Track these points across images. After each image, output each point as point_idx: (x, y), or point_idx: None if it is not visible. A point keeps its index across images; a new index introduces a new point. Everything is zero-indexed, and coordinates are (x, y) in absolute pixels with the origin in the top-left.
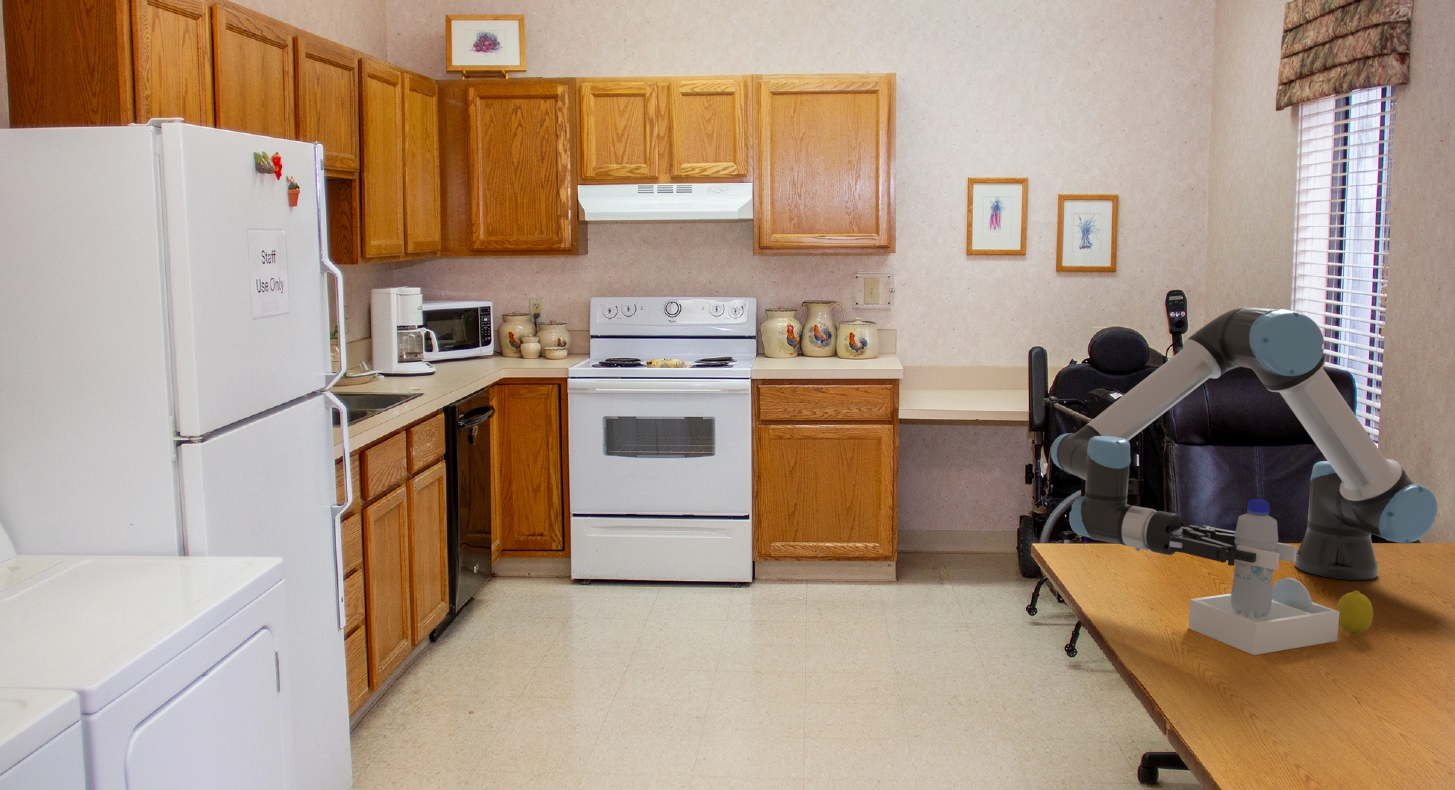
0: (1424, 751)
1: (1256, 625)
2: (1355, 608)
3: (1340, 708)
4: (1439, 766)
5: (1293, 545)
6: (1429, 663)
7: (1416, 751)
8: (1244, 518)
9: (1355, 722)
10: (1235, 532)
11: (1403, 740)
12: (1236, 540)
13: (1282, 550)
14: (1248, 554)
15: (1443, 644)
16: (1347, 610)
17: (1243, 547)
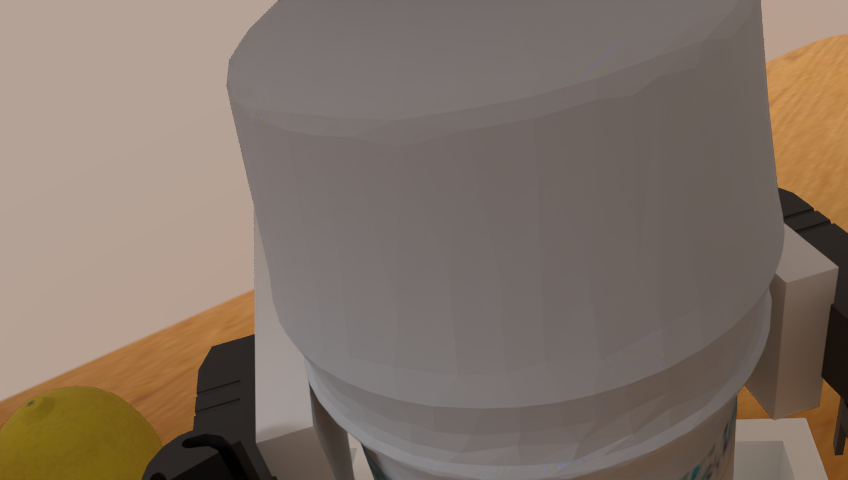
0: (780, 74)
1: (802, 423)
2: (136, 414)
3: (806, 184)
4: (803, 49)
5: (255, 213)
6: (250, 311)
7: (798, 74)
8: None
9: (830, 141)
10: (741, 280)
11: (784, 96)
12: (758, 321)
13: None
14: (802, 207)
15: (25, 390)
16: (146, 445)
17: (790, 234)
